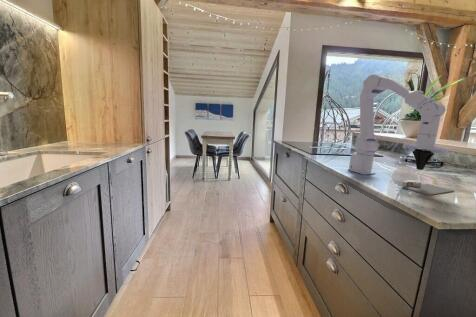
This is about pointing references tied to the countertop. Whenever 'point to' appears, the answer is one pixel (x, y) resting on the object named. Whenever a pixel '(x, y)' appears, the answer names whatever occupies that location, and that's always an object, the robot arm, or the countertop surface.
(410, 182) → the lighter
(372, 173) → the robot arm
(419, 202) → the countertop surface
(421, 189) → the mat
